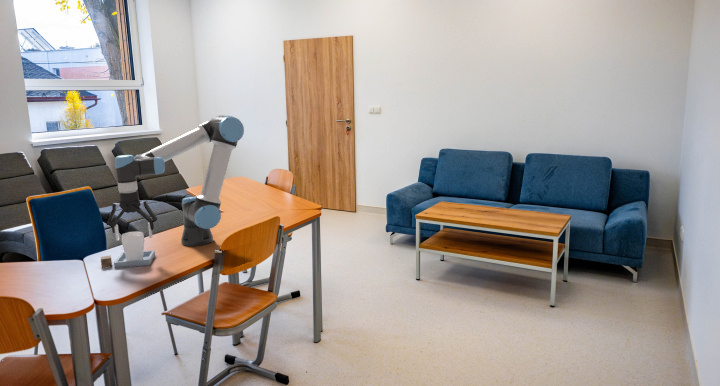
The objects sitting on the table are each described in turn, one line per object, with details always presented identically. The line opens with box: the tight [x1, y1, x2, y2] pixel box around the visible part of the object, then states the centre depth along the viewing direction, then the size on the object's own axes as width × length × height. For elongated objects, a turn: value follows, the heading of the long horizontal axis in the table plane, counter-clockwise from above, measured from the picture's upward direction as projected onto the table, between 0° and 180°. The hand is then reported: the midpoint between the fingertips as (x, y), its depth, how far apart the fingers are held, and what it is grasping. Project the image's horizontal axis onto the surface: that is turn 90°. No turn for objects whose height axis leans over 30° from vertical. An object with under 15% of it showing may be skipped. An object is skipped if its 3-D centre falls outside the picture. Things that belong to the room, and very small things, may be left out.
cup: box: [121, 230, 145, 261], centre depth 219 cm, size 9×9×12 cm
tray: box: [113, 249, 156, 269], centre depth 220 cm, size 14×14×2 cm
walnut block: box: [100, 255, 113, 269], centre depth 215 cm, size 4×4×4 cm
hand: (134, 238), depth 219 cm, fingers open, 13 cm apart
